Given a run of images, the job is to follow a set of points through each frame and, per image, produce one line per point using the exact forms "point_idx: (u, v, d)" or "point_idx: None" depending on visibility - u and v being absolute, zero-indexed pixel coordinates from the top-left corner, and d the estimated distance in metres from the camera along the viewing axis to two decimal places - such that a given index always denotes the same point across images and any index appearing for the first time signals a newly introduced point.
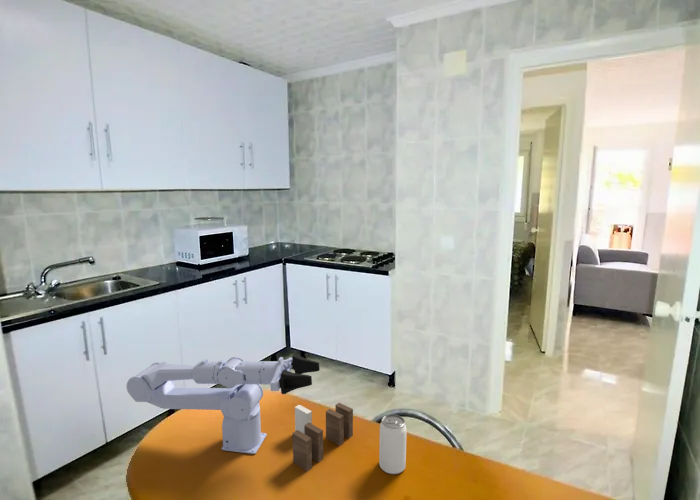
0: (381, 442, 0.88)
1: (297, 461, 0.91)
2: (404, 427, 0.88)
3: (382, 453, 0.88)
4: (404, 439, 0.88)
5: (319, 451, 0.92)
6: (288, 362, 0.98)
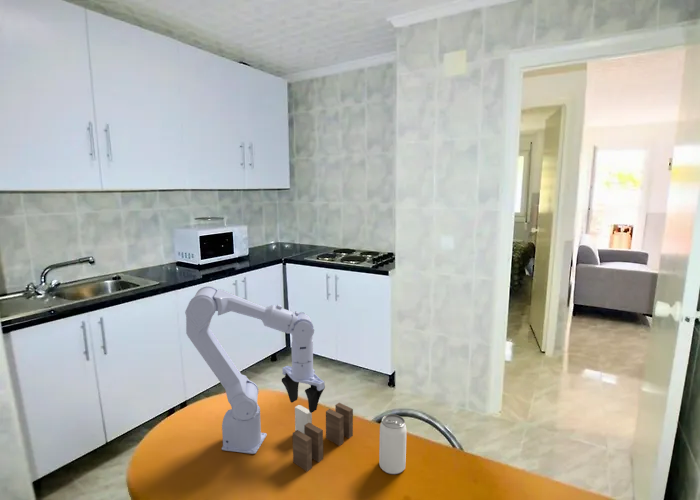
0: (381, 442, 0.88)
1: (297, 461, 0.91)
2: (404, 427, 0.88)
3: (382, 453, 0.88)
4: (404, 439, 0.88)
5: (319, 451, 0.92)
6: None
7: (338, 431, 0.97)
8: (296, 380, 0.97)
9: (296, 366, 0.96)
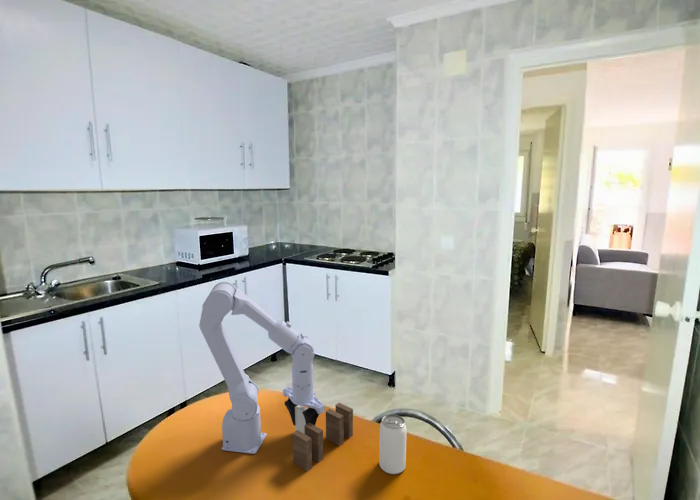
0: (381, 442, 0.88)
1: (297, 461, 0.91)
2: (404, 427, 0.88)
3: (382, 453, 0.88)
4: (404, 439, 0.88)
5: (319, 451, 0.92)
6: None
7: (338, 431, 0.97)
8: (296, 403, 0.98)
9: (296, 389, 0.97)
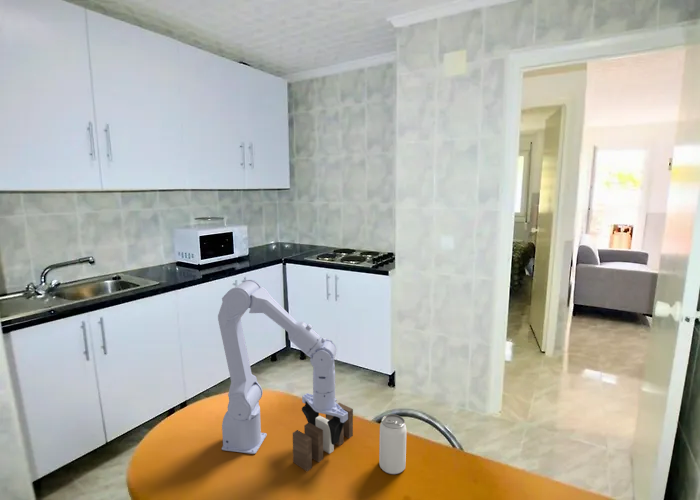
0: (381, 442, 0.88)
1: (297, 461, 0.91)
2: (404, 427, 0.88)
3: (382, 453, 0.88)
4: (404, 439, 0.88)
5: (319, 451, 0.92)
6: None
7: None
8: (318, 411, 0.92)
9: (318, 396, 0.92)
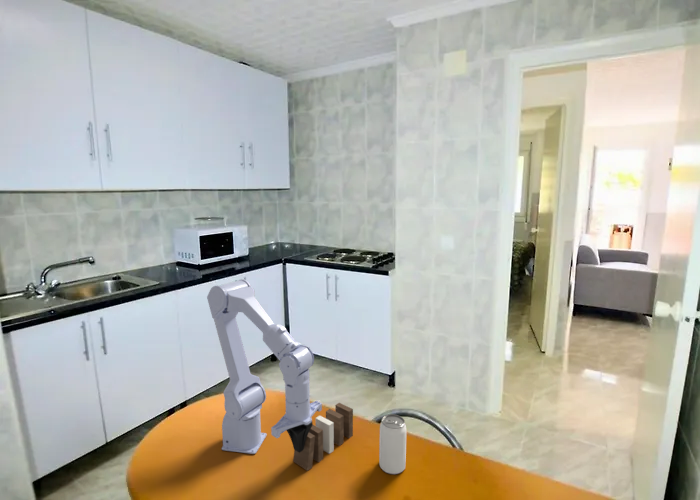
0: (381, 442, 0.88)
1: (298, 460, 0.91)
2: (404, 427, 0.88)
3: (382, 453, 0.88)
4: (404, 439, 0.88)
5: (319, 451, 0.92)
6: None
7: (338, 431, 0.97)
8: None
9: None
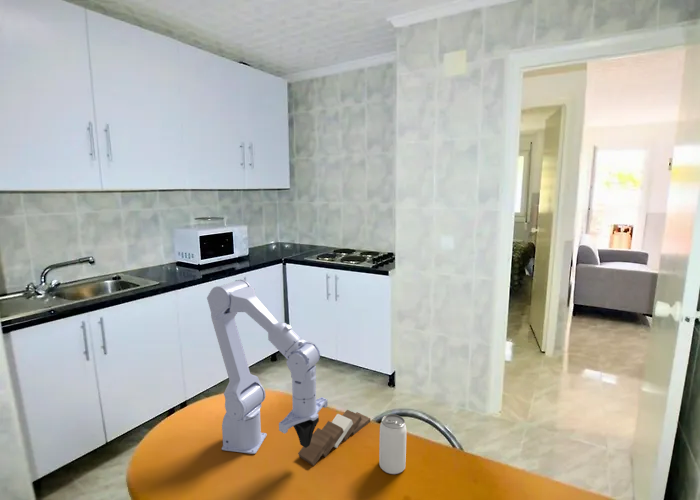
0: (381, 442, 0.88)
1: (304, 452, 0.92)
2: (404, 427, 0.88)
3: (382, 453, 0.88)
4: (404, 439, 0.88)
5: (330, 445, 0.95)
6: None
7: None
8: None
9: None
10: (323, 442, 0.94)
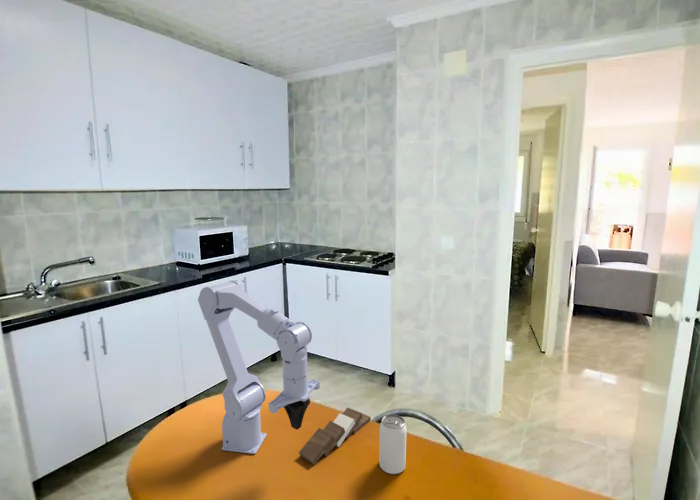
0: (381, 442, 0.88)
1: (305, 452, 0.93)
2: (404, 427, 0.88)
3: (382, 453, 0.88)
4: (404, 439, 0.88)
5: (331, 444, 0.95)
6: None
7: None
8: None
9: None
10: (324, 442, 0.94)
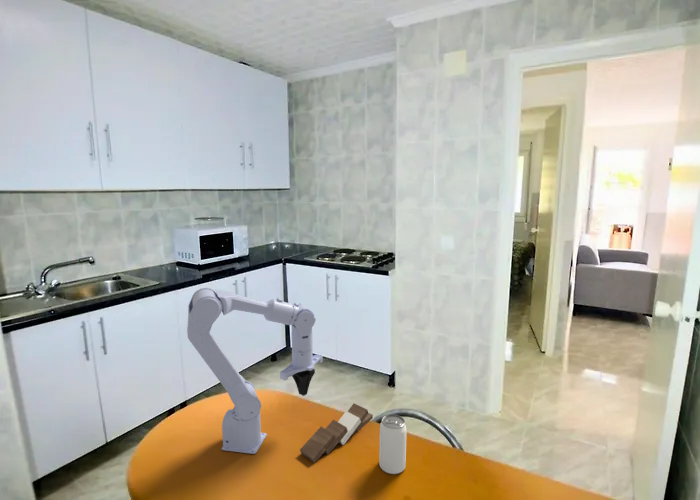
0: (381, 442, 0.88)
1: (306, 449, 0.94)
2: (404, 427, 0.88)
3: (382, 453, 0.88)
4: (404, 439, 0.88)
5: (333, 443, 0.96)
6: None
7: None
8: None
9: None
10: (325, 440, 0.95)
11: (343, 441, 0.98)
